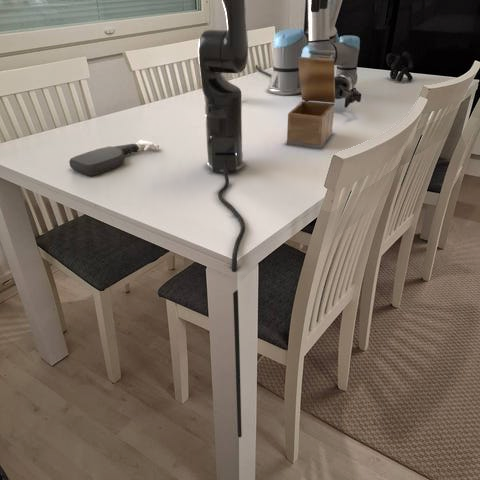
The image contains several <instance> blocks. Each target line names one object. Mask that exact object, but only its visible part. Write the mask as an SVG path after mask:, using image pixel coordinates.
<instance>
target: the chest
mask: <svg viewBox="0 0 480 480" xmlns="http://www.w3.org/2000/svg"><path fill="white" fill-rule="evenodd" d="M334 114H335V103H328V102H317V101H309V102H308V101H304V100H301V101H300V102H299V103H298V104H296V106H295V107H293V109H291V110H290V111H289V112H288V113H287V131H286V132H287V133H286V136H287V137H286V145H287V146H295V147H301V148H310V149H318V150H321V149H322V147H323V146H324V145H325V144H326V142H327V141H328V140H329V138H330V137H331V135H332V134H333V125H334V116H335V115H334Z"/></svg>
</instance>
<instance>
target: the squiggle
mask: <svg viewBox="0 0 480 480" xmlns="http://www.w3.org/2000/svg"><path fill="white" fill-rule="evenodd" d="M401 57H402V59H401ZM391 59H392V60H391ZM393 60H394V61H393ZM385 61H386V64H387V67H390V68H391V70H390V72H389V78H390V79H391V80H395V79H396V81H397V82H399V83H400V82H402V81H403V79H404V76H406V78H407V80H408V81H412V80H413V79H414V77H413V75H412V74H411V73H410V72H409V71H410V70H412V69H413V68H414V64H413V61H412V57H411V54H410V53H409V52H408V51H403V53H402V54H401V55H396V54H394V53H392V52H390V53H387V55H386V57H385ZM406 62H407V65H408V66H407V67H405V66H404V65H405V64H406ZM400 70H401V71H400Z"/></svg>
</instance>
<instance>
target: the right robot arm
mask: <svg viewBox="0 0 480 480" xmlns="http://www.w3.org/2000/svg"><path fill="white" fill-rule="evenodd" d="M342 3H343V0H328V7H327V9H320V10H319V12H311V0H307V29H306V31H304V29H303V28H300V27H298V28H297V27H295V28H287V29H282V30H279V31H277V32H276V33H275V34H274V36H273V43H272V47H273V48H272V49H273V51H272V53H273V55H272V73H268V72H267V71H265V70H262V69H260V68H258V64H256V65H255V69H256V70H257V71H258V72H260V73H261V74H264V75H266V76H268V77H270V80H269V82H268V85H267V86H268V87H267V88H268V89H267V91H268V92H269V93H270V94H273V95H280V96H295V95H300V94H301V86H300V76H299V67H298V57H310V55H311V50H325V51H335V57H333V59H334V66H336V71H335V72H336V73H335V100H341V99H345V100H344V108H348V107H349V106H350V104H353V103H355V102H357V103H361V101H362V93H361V92H360V91H359V90H357V87H356V84H357V82H358V61H359V55H360V49H361V48H360V47H361V46H360V45H361V40H360V37H359V36H358V35H357V36H356V35H341V36H340V37H339V34H338V30H337V28H336V23H337V19H338V16H339V13H340V10H341V8H342V7H341V6H342ZM312 58H327V59H330V57H323V56H313V57H312ZM303 101H306V100H303ZM308 102H310V101H308Z"/></svg>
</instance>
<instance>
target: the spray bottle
mask: <svg viewBox="0 0 480 480" xmlns="http://www.w3.org/2000/svg"><path fill="white" fill-rule="evenodd" d="M159 148H160V145H159V144H158V143H155V142H151V141H148V140H144V139H139V140H138V141H137V142H135V143H129V144H128V143H126V144H122V145H113V146H105V147H100V148H97V149H94V150H90V151H87V152H83V153H81V154H78V155H74V156H73V157H70V159H69V161H68V162H69V167H70V168H71V169H72V170H74V171H75V172H78V173H81V174H83V175H85V176H89V177H90V176H91V177H92V176H95V175H99V174H102V173H105V172H107V171H110V170H113V169H116V168H118V167H120V166H122V165H123V164H124V163H125V158H126V156H127V155H131V154H133V153H138V151H140V150H143V151H144V152H146V151H147V150H149V149H159Z"/></svg>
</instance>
